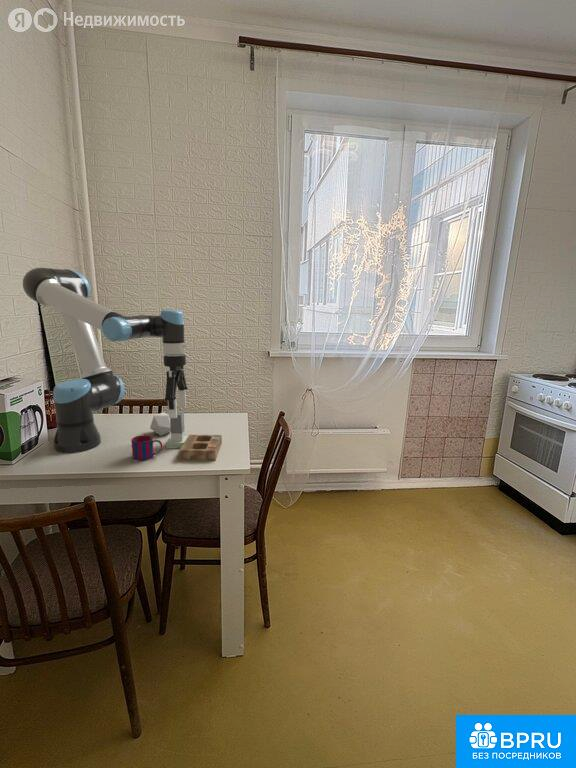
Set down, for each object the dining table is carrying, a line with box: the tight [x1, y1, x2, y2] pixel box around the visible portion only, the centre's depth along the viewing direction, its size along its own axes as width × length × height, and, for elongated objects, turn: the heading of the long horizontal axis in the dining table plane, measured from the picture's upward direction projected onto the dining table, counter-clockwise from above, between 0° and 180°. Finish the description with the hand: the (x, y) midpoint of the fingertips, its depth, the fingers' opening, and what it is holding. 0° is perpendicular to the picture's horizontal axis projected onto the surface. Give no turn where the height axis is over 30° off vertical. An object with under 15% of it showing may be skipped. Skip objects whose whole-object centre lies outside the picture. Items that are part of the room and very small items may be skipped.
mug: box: [131, 434, 164, 462], centre depth 129 cm, size 7×10×7 cm
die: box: [149, 411, 171, 437], centre depth 152 cm, size 8×9×10 cm
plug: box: [170, 411, 186, 441], centre depth 141 cm, size 4×4×10 cm
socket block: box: [179, 434, 223, 461], centre depth 136 cm, size 12×15×4 cm
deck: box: [165, 435, 189, 449], centre depth 142 cm, size 7×7×2 cm
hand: (177, 412), depth 139 cm, fingers open, 13 cm apart
